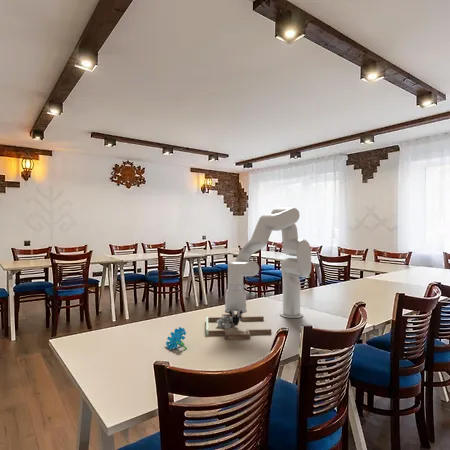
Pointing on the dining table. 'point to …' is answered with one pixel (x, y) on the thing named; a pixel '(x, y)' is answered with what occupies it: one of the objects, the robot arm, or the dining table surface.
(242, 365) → the dining table surface
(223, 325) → the grey rock
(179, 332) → the blue flower
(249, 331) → the trap box
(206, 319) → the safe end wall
